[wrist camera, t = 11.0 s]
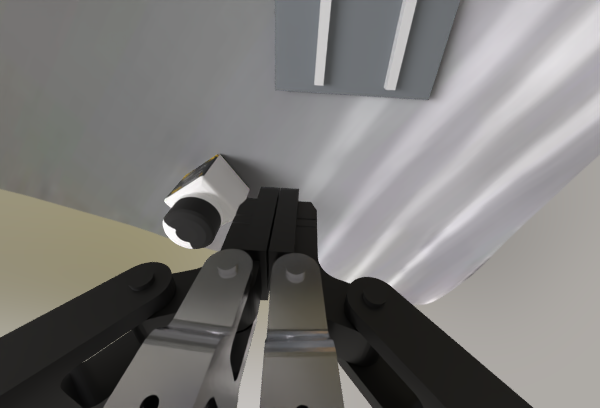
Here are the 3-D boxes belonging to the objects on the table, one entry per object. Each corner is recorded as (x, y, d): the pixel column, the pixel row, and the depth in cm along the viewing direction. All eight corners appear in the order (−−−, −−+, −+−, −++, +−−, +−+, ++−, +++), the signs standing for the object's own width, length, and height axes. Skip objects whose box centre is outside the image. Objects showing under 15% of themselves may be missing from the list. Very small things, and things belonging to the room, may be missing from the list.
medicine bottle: (219, 152, 36) (185, 198, 26) (250, 189, 40) (230, 242, 30) (184, 175, 39) (141, 225, 29) (216, 208, 42) (187, 263, 32)
